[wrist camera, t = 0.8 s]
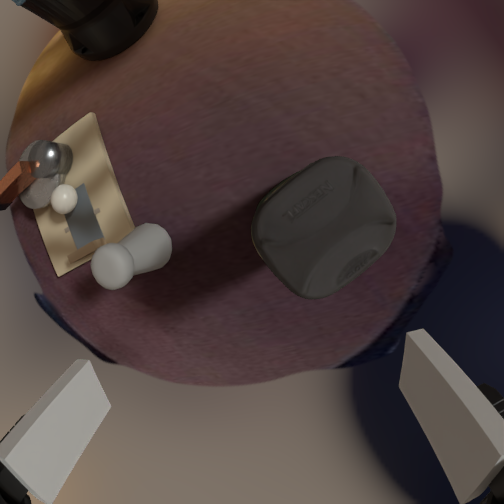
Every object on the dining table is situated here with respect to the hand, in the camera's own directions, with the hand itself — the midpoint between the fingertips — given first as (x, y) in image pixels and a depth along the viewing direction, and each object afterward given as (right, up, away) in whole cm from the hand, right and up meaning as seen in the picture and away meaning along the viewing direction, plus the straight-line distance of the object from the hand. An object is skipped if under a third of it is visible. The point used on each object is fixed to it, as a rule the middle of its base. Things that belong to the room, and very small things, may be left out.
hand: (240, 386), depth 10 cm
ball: (-24, +13, +23) cm, 36 cm away
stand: (-25, +13, +25) cm, 38 cm away
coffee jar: (+6, +10, +24) cm, 27 cm away
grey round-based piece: (-32, +16, +23) cm, 42 cm away
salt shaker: (-12, +6, +26) cm, 29 cm away
